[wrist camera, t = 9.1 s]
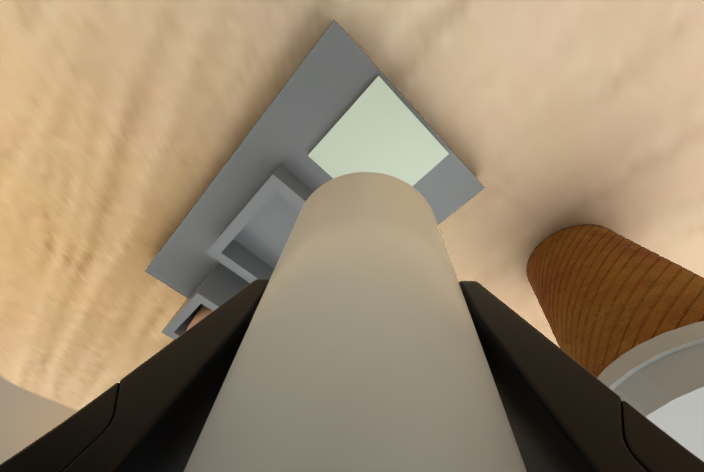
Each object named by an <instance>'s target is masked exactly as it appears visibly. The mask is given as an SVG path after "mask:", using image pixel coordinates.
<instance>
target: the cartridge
mask: <svg viewBox="0 0 704 472" xmlns="http://www.w3.org/2000/svg"><path fill="white" fill-rule="evenodd" d="M184 472H527V470H526V468H525V465H524V462H523V459H522V457H521V454H520V451H519V448H518V445H517V443H516V440H515V437H514V434H513V432H512V429H511V426H510V423H509V421H508V418H507V415H506V412H505V409H504V407H503V404H502V401H501V398H500V396H499V393H498V390H497V387H496V384H495V382H494V379H493V376H492V373H491V371H490V368H489V365H488V362H487V359H486V357H485V354H484V351H483V348H482V346H481V343H480V340H479V337H478V335H477V332H476V329H475V326H474V323H473V321H472V318H471V315H470V312H469V310H468V307H467V304H466V301H465V298H464V296H463V293H462V290H461V287H460V285H459V282H458V279H457V276H456V274H455V271H454V268H453V265H452V262H451V260H450V257H449V254H448V251H447V249H446V246H445V243H444V240H443V237H442V235H441V232H440V229H439V226H438V224H437V221H436V218H435V215H434V213H433V211H432V209H431V207H430V205H429V204H428V202H427V201H426V199H425V198H424V197H423V196H422V195H421V194H420V193H419V192H418V191H417V190H416V189H415V188H414V187H412V186H411V185H409V184H408V183H406V182H404V181H402V180H400V179H398V178H396V177H393V176H390V175H387V174H382V173H376V172H356V173H350V174H345V175H342V176H339V177H336V178H334V179H332V180H330V181H328V182H326V183H325V184H323V185H322V186H320V187H319V188H318V189H317V190H315V191H314V192H313V193H312V194H311V195H310V197H309V198H308V199H307V200H306V202H305V203H304V205H303V207H302V209H301V211H300V213H299V215H298V218H297V220H296V222H295V224H294V226H293V229H292V231H291V233H290V235H289V238H288V240H287V242H286V244H285V247H284V249H283V251H282V253H281V255H280V258H279V260H278V262H277V264H276V267H275V269H274V271H273V273H272V275H271V278H270V280H269V282H268V284H267V287H266V289H265V291H264V293H263V296H262V298H261V300H260V302H259V304H258V307H257V309H256V311H255V313H254V316H253V318H252V320H251V322H250V325H249V327H248V329H247V331H246V333H245V336H244V338H243V340H242V342H241V345H240V347H239V349H238V351H237V354H236V356H235V358H234V360H233V362H232V365H231V367H230V369H229V371H228V374H227V376H226V378H225V380H224V383H223V385H222V387H221V389H220V391H219V394H218V396H217V398H216V400H215V403H214V405H213V407H212V409H211V412H210V414H209V416H208V418H207V420H206V423H205V425H204V427H203V429H202V432H201V434H200V436H199V438H198V441H197V443H196V445H195V447H194V449H193V452H192V454H191V456H190V458H189V461H188V463H187V465H186V467H185V470H184Z"/></svg>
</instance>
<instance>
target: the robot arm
mask: <svg viewBox="0 0 704 472" xmlns="http://www.w3.org/2000/svg"><path fill="white" fill-rule="evenodd" d="M269 280H270V279H256V280H254V281H253V282H252V283H250V284H249V285H248V286H246V287H245V288H244V289H242V290H241V291H240V292H238V293H237V294H235V295H234V296H233V297H231V298H230V299H229V300H227V301H226V302H225V303H223V304H222V305H221V306H219V307H218V308H217V309H215V310H214V311H213V312H211V313H210V314H209V315H207V316H206V317H205V318H203V319H202V320H201V321H199V322H198V323H197V324H195V325H194V326H193V327H191V328H190V329H189V330H187V331H186V332H185V333H183V334H182V335H180V336H179V337H178V338H176V339H175V340H174V341H172V342H171V343H170V344H168V345H167V346H166V347H164V348H163V349H162V350H160V351H159V352H158V353H156V354H155V355H154V356H152V357H151V358H150V359H148V360H147V361H146V362H144V363H143V364H142V365H140V366H139V367H138V368H136V369H135V370H134V371H132V372H131V373H130V374H128V375H127V376H125V377H124V378H123V379H122V380H121V381H120V383H116V384H115V385H113V386H112V387H111V388H109V389H108V390H107V391H105V392H104V393H102V394H101V395H100V396H98V397H97V398H96V399H94V400H93V401H92V402H90V403H89V404H87V405H86V406H85V407H83V408H82V409H81V410H79V411H78V412H76V413H75V414H74V415H72V416H71V417H69V418H68V419H67V420H65V421H64V422H63V423H61V424H60V425H58V426H57V427H55V428H54V429H52V430H51V431H49V432H48V433H46V434H45V435H44V436H42V437H41V438H39V439H38V440H36V441H35V442H33V443H32V444H30V445H29V446H27V447H26V448H25V449H23V450H22V451H20V452H19V453H17V454H16V455H14V456H13V457H11V458H10V459H8V460H6V461H5V462H3V463H2V464H0V472H184V470H185V467H186V465H187V463H188V461H189V458H190V456H191V454H192V452H193V449H194V447H195V445H196V443H197V441H198V438H199V436H200V434H201V432H202V429H203V427H204V425H205V423H206V420H207V418H208V416H209V414H210V412H211V409H212V407H213V405H214V403H215V400H216V398H217V396H218V394H219V391H220V389H221V387H222V385H223V383H224V380H225V378H226V376H227V374H228V371H229V369H230V367H231V365H232V362H233V360H234V358H235V356H236V354H237V351H238V349H239V347H240V345H241V342H242V340H243V338H244V336H245V333H246V331H247V329H248V327H249V325H250V322H251V320H252V318H253V316H254V313H255V311H256V309H257V307H258V304H259V302H260V300H261V298H262V296H263V293H264V291H265V289H266V287H267V284H268V282H269ZM459 285H460V287H461V290H462V293H463V296H464V298H465V301H466V304H467V307H468V310H469V312H470V315H471V318H472V321H473V323H474V326H475V329H476V332H477V335H478V337H479V340H480V343H481V346H482V348H483V351H484V354H485V357H486V359H487V362H488V365H489V368H490V371H491V373H492V376H493V379H494V382H495V384H496V387H497V390H498V393H499V396H500V398H501V401H502V404H503V407H504V409H505V412H506V415H507V418H508V421H509V423H510V426H511V429H512V432H513V434H514V437H515V440H516V443H517V445H518V448H519V451H520V454H521V457H522V459H523V462H524V465H525V468H526V470H527V472H704V462H703V461H702V460H701V459H699V458H698V457H697V456H695V455H694V454H693V453H691V452H690V451H689V450H687V449H686V448H685V447H683V446H682V445H681V444H680V443H678V442H677V441H676V440H674V439H673V438H672V437H671V436H669V435H668V434H667V433H665V432H664V431H663V430H662V429H660V428H659V427H658V426H656V425H655V424H654V423H653V422H651V421H650V420H649V419H647V418H646V417H645V416H644V415H643V414H641V413H640V412H639V411H638V410H636V409H635V408H634V407H633V406H631V405H630V404H629V403H628V402H626V401H621V398H620V396H619V395H617V394H616V393H615V392H614V391H612V390H611V389H610V388H609V387H607V386H606V385H605V384H604V383H602V382H601V381H600V380H599V379H597V378H596V377H595V376H594V375H593V374H591V373H590V372H589V371H588V370H586V369H585V368H584V367H583V366H581V365H580V364H579V363H578V362H576V361H575V360H574V359H573V358H571V357H570V356H569V355H568V354H566V353H565V352H564V351H563V350H561V349H560V348H559V347H558V346H556V345H555V344H554V343H553V342H551V341H550V340H549V339H548V338H546V337H545V336H544V335H543V334H542V333H540V332H539V331H538V330H537V329H535V328H534V327H533V326H532V325H530V324H529V323H528V322H527V321H525V320H524V319H523V318H522V317H520V316H519V315H518V314H517V313H515V312H514V311H513V310H512V309H510V308H509V307H508V306H507V305H505V304H504V303H503V302H502V301H500V300H499V299H498V298H497V297H495V296H494V295H493V294H492V293H490V292H489V291H488V290H487V289H486V288H484V287H483V286H482V285H481V284H479V283H478V282H476V281H460V282H459Z"/></svg>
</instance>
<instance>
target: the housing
mask: <svg viewBox="0 0 704 472" xmlns="http://www.w3.org/2000/svg"><path fill="white" fill-rule="evenodd" d="M356 172H376V173H382V174H387V175H390V176H393V177H396V178H398V179H400V180H402V181H404V182H406V183H408V184H409V185H411V186H412V187H414V188H415V189H416V190H417V191H418V192H419V193H420V194H421V195H422V196H423V197H424V198H425V199H426V201H427V202H428V204H429V205H430V207H431V209H432V211H433V213H434V215H435V218H436V221H437V224H439V223H441V222H442V221H443V220H444V219H446V218H447V217H448V216H450V215H451V214H452V213H453V212H455V211H456V210H457V209H458V208H460V207H461V206H462V205H464V204H465V203H466V202H467V201H469V200H470V199H471V198H472V197H474V196H475V195H476V194H477V193H479V192H480V191H481V190H483V189H484V188H485V187H484V186H483V185H482V184H481V183H480V181H479V180H478V179H477V178H476V177H475V176H474V175H473V174H472V172H471V171H470V170H469V169H468V168H467V167H466V166H465V165H464V164H463V162H462V161H461V160H460V159H459V158H458V157H457V156H456V155H455V153H454V152H453V151H452V150H451V149H450V148H449V147H448V146H447V145H446V143H445V142H444V141H443V140H442V139H441V138H440V137H439V136H438V135H437V133H436V132H435V131H434V130H433V129H432V128H431V127H430V126H429V124H428V123H427V122H426V121H425V120H424V119H423V118H422V117H421V116H420V114H419V113H418V112H417V111H416V110H415V109H414V108H413V107H412V106H411V104H410V103H409V102H408V101H407V100H406V99H405V98H404V97H403V95H402V94H401V93H400V92H399V91H398V90H397V89H396V88H395V87H394V85H393V84H392V83H391V82H390V81H389V80H388V79H387V78H386V76H385V75H384V74H383V73H382V72H381V71H380V70H379V69H378V68H377V66H376V65H375V64H374V63H373V62H372V61H371V60H370V59H369V58H368V56H367V55H366V54H365V53H364V52H363V51H362V50H361V49H360V47H359V46H358V45H357V44H356V43H355V42H354V41H353V40H352V39H351V37H350V36H349V35H348V34H347V33H346V32H345V31H344V30H343V29H342V27H341V26H340V25H339V24H338V23H337V22H336V21H335V20H334V21H333V22H332V24H331V25H330V26H329V28H328V29H327V30H326V32H325V33H324V34H323V35H322V37H321V38H320V39H319V41H318V42H317V43H316V45H315V46H314V47H313V49H312V50H311V51H310V53H309V54H308V55H307V57H306V58H305V59H304V61H303V62H302V63H301V65H300V66H299V67H298V69H297V70H296V71H295V73H294V74H293V75H292V77H291V78H290V79H289V81H288V82H287V83H286V85H285V86H284V87H283V89H282V90H281V91H280V93H279V94H278V95H277V96H276V98H275V99H274V100H273V102H272V103H271V104H270V106H269V107H268V108H267V110H266V111H265V112H264V114H263V115H262V116H261V118H260V119H259V120H258V122H257V123H256V124H255V126H254V127H253V128H252V130H251V131H250V132H249V134H248V135H247V136H246V138H245V139H244V140H243V142H242V143H241V144H240V146H239V147H238V148H237V150H236V151H235V152H234V153H233V155H232V156H231V157H230V159H229V160H228V161H227V163H226V164H225V165H224V167H223V168H222V169H221V171H220V172H219V173H218V175H217V176H216V177H215V179H214V180H213V181H212V183H211V184H210V185H209V187H208V188H207V189H206V191H205V192H204V193H203V195H202V196H201V197H200V199H199V200H198V201H197V203H196V204H195V205H194V207H193V208H192V209H191V211H190V212H189V213H188V214H187V216H186V217H185V218H184V220H183V221H182V222H181V224H180V225H179V226H178V228H177V229H176V230H175V232H174V233H173V234H172V236H171V237H170V238H169V240H168V241H167V242H166V244H165V245H164V246H163V248H162V249H161V250H160V252H159V253H158V254H157V256H156V257H155V258H154V260H153V261H152V262H151V264H150V265H149V266H148V268H147V269H146V270H145V272H147V273H148V274H150V275H152V276H153V277H155V278H156V279H158V280H160V281H161V282H163V283H164V284H166V285H168V286H169V287H171V288H172V289H174V290H176V291H177V292H179V293H180V294H182V295H184V296H185V297H187V299H186V301H185V302H184V303H183V305H182V306H181V307H180V309H179V310H178V311H177V313H176V314H175V315H174V316H173V318H172V319H171V320H170V322H169V323H168V324H167V326H166V327H165V328H164V330H163V331H162V333H164V334H166V335H167V336H169V337H171V338H173V339H174V340H175V339H176V338H178V337H179V336H180V335H182V334H183V333H185V332H186V330H187V327H188V326H189V324H190V323H191V321H192V320H193V318H194V317H195V315H196V314H197V312H198V311H199V310H200V308H201V307H202V305H204V306H206V307H207V308H209V309H211V310H212V311H214V310H215V309H217V308H218V307H219V306H221V305H222V304H223V303H225V302H226V301H227V300H229V299H230V298H231V297H233V296H234V295H235V294H237V293H238V292H240V291H241V290H242V289H244V288H245V287H246V286H248V285H249V284H250V283H252V282H253V281H254V280H256V279H270V278H271V275H272V273H273V271H274V269H275V267H276V264H277V262H278V260H279V258H280V255H281V253H282V251H283V249H284V247H285V244H286V242H287V240H288V238H289V235H290V233H291V231H292V229H293V226H294V224H295V222H296V220H297V218H298V215H299V213H300V211H301V209H302V207H303V205H304V203H305V202H306V200H307V199H308V198H309V197H310V195H311V194H312V193H313V192H314V191H315V190H317V189H318V188H319V187H320V186H322V185H323V184H325V183H326V182H328V181H330V180H332V179H334V178H336V177H339V176H342V175H345V174H350V173H356Z"/></svg>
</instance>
